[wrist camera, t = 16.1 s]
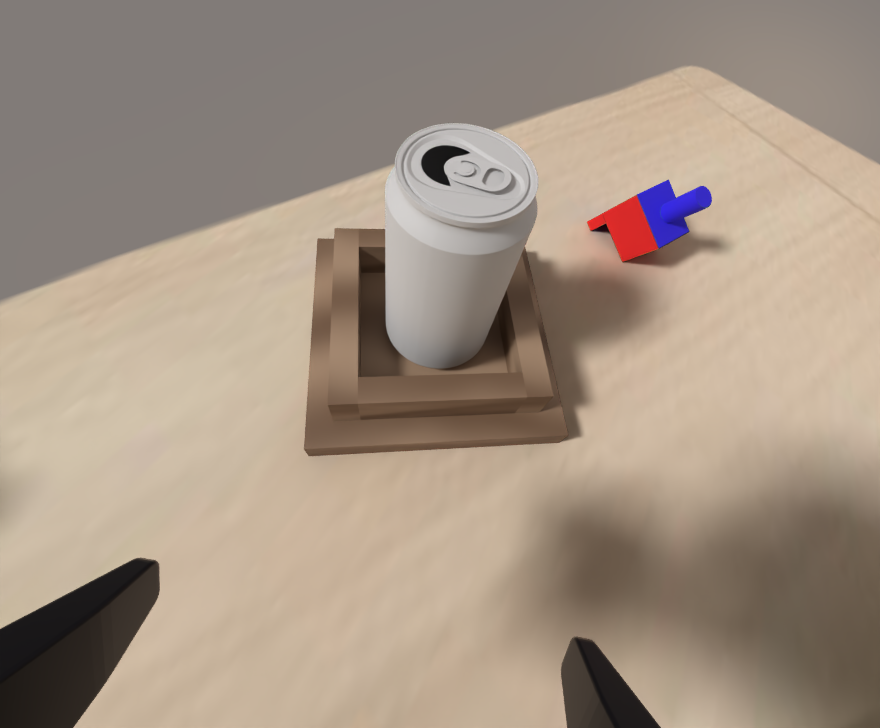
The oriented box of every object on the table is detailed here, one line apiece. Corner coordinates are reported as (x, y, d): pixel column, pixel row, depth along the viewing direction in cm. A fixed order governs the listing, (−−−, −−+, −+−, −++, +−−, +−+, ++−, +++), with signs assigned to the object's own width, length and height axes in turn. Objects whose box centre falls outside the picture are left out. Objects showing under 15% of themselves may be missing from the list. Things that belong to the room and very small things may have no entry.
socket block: (559, 442, 26) (586, 421, 22) (308, 456, 24) (294, 435, 20) (518, 255, 32) (534, 215, 29) (320, 253, 30) (311, 210, 27)
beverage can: (410, 276, 28) (424, 96, 18) (497, 311, 28) (565, 147, 17) (368, 349, 25) (353, 187, 15) (464, 390, 25) (522, 252, 14)
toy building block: (606, 268, 35) (694, 235, 27) (586, 221, 34) (670, 175, 27) (634, 252, 36) (726, 217, 28) (615, 207, 35) (704, 159, 28)
